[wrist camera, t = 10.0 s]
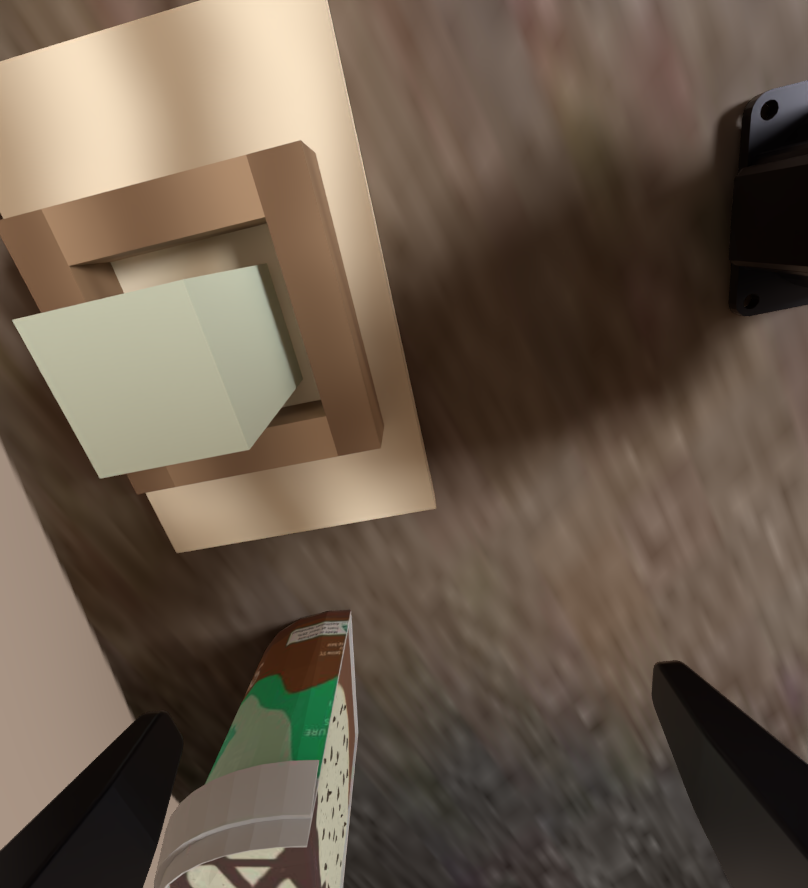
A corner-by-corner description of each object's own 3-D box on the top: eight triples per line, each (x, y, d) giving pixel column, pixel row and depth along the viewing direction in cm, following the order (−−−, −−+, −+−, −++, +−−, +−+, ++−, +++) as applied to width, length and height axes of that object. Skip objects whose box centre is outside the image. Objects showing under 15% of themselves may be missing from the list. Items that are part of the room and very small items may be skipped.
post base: (323, -17, 13) (299, -84, 10) (435, 495, 20) (438, 537, 17) (-37, 92, 14) (-145, 57, 11) (187, 539, 21) (153, 585, 18)
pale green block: (266, 263, 15) (183, 279, 10) (303, 379, 17) (249, 449, 11) (153, 289, 15) (11, 319, 10) (200, 400, 17) (100, 478, 12)
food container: (222, 584, 22) (87, 830, 13) (349, 586, 22) (305, 835, 13) (255, 746, 27) (175, 1005, 18) (359, 748, 27) (332, 1009, 18)
